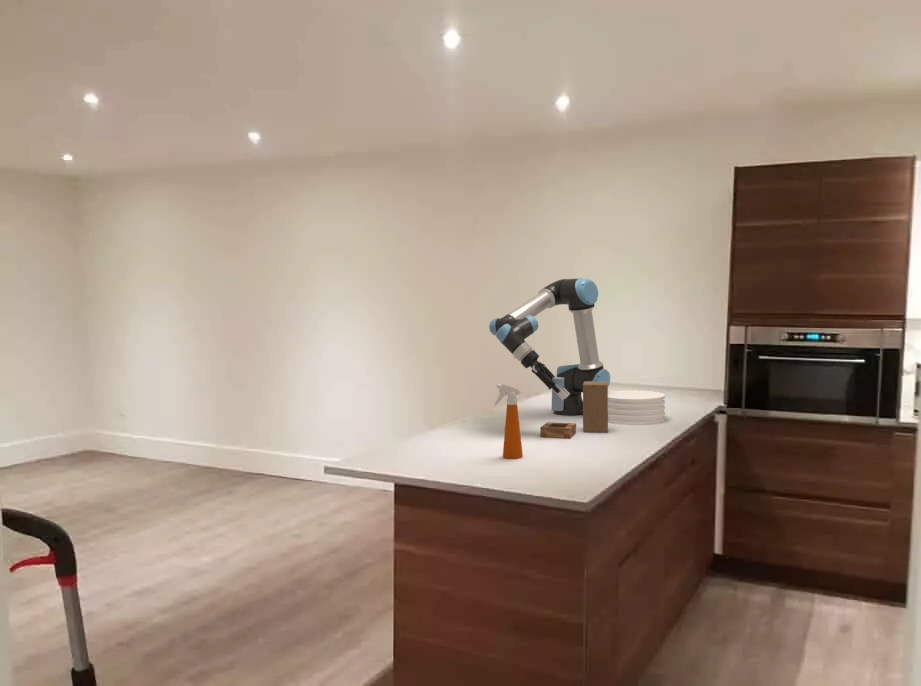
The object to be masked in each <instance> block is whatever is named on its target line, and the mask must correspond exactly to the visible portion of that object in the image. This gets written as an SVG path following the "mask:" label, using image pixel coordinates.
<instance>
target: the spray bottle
mask: <svg viewBox="0 0 921 686" xmlns="http://www.w3.org/2000/svg"><path fill="white" fill-rule="evenodd" d="M496 388H497V389H499V391H498V392H499V394H498V397H497V398H496V400H495V402H494V403H493V404H492V406H493V407H495V406H496V405H498V404H499V403H500V402H501V401H502V400H503V398H505V396H507V398H506V410H505V411H506V413H505V425H504V439H503V447H502V448H503V449H502V450H503V451H502V457H503V458H505V459H509V460H510V459H512V460H514V459H515V460H516V459H517V460H518V459H521V458H523V457H524V455H523V445H522V438H521V429H520V428H521V426H520V418H519V409H518V398H517V396H518V395H520V394H521V393H522V392H521V391H519V389H517V388H515V387H513V386H511V385H507V384H502V383H497V385H496Z"/></svg>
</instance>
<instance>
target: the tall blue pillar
mask: <svg viewBox="0 0 921 686" xmlns="http://www.w3.org/2000/svg"><path fill="white" fill-rule="evenodd" d="M552 381H553V382H554V383H555V385H556V384H557V385H558V386H559V387H560V388H561V389H562V390H563V391H564V378H560V377H557V376H555V377H554V378H552ZM563 408H564V400H562V399H561V398H560V397H559V396H558V395H557V394H556V393H555V392H554V391H553V390H552V389H551V411H553V410H555V411H562V410H563Z"/></svg>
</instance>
